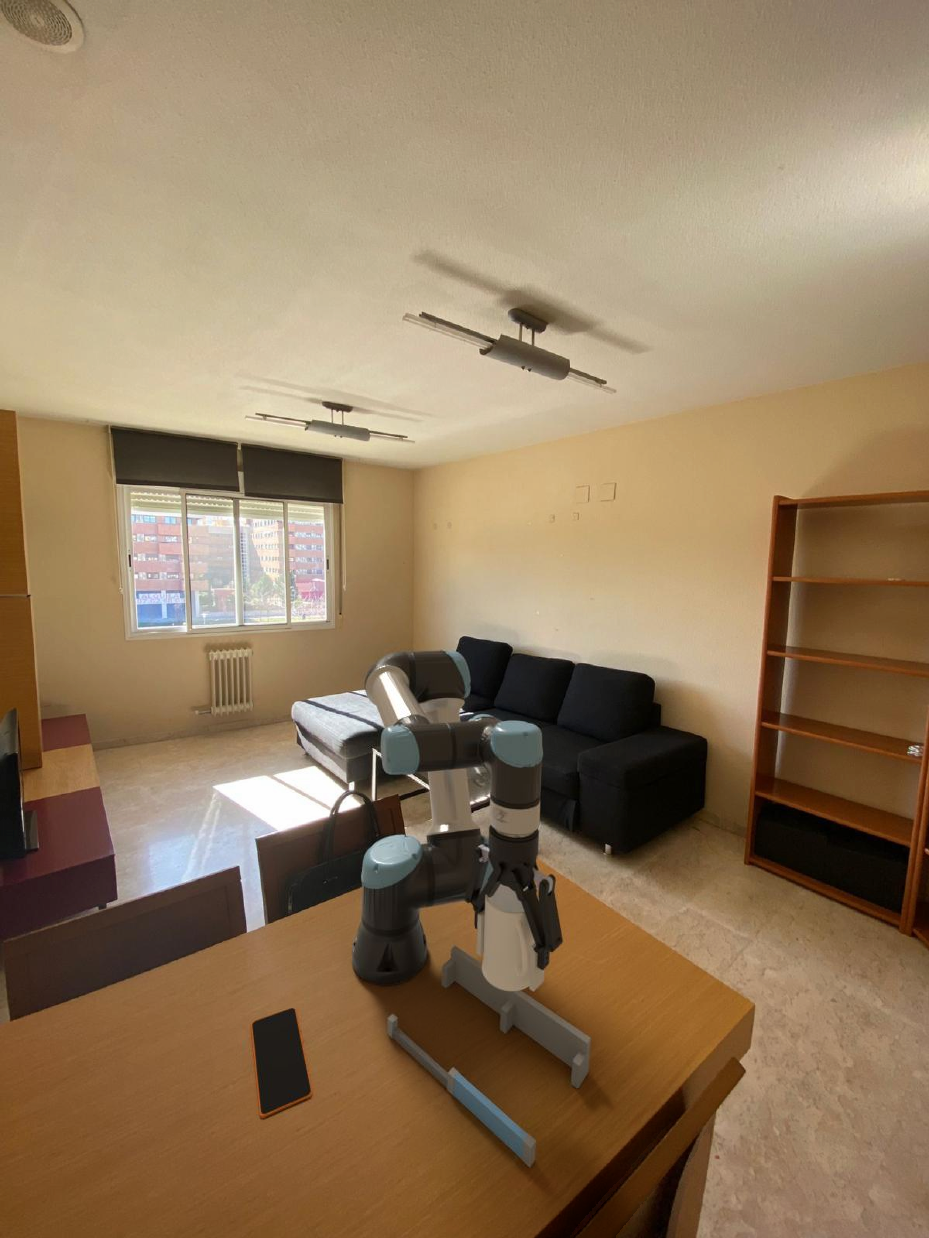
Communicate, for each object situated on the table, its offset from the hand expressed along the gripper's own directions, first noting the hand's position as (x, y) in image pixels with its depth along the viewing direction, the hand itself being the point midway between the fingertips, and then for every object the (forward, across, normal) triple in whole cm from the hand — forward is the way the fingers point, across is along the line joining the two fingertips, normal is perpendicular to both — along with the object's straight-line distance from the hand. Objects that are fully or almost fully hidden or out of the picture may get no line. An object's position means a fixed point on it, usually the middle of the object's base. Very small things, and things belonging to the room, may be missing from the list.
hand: (509, 966), depth 78 cm
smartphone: (+19, -28, -23) cm, 41 cm away
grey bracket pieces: (+18, -5, +1) cm, 19 cm away
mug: (+2, 0, 0) cm, 2 cm away
